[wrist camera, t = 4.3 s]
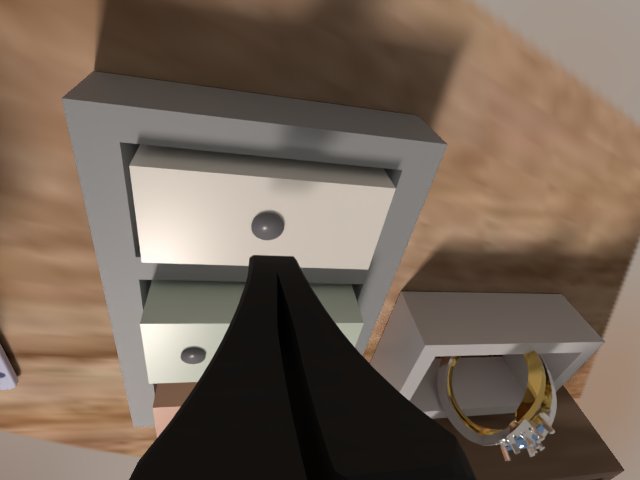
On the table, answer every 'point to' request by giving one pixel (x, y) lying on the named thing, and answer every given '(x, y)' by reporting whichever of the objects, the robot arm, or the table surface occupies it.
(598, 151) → the table surface
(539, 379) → the ring
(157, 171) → the tile one cream
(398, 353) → the bracelet dish
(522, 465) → the box
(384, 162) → the button board
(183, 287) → the tile three sage
